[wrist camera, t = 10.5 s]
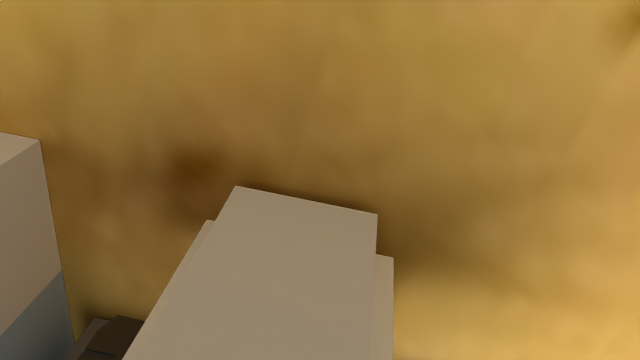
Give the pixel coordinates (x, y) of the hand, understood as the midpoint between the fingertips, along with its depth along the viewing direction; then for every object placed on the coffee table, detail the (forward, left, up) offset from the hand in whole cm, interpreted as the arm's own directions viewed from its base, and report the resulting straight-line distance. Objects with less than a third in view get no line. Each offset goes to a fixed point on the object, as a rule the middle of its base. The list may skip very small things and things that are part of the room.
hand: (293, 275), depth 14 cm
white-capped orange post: (0, -6, 0) cm, 6 cm away
